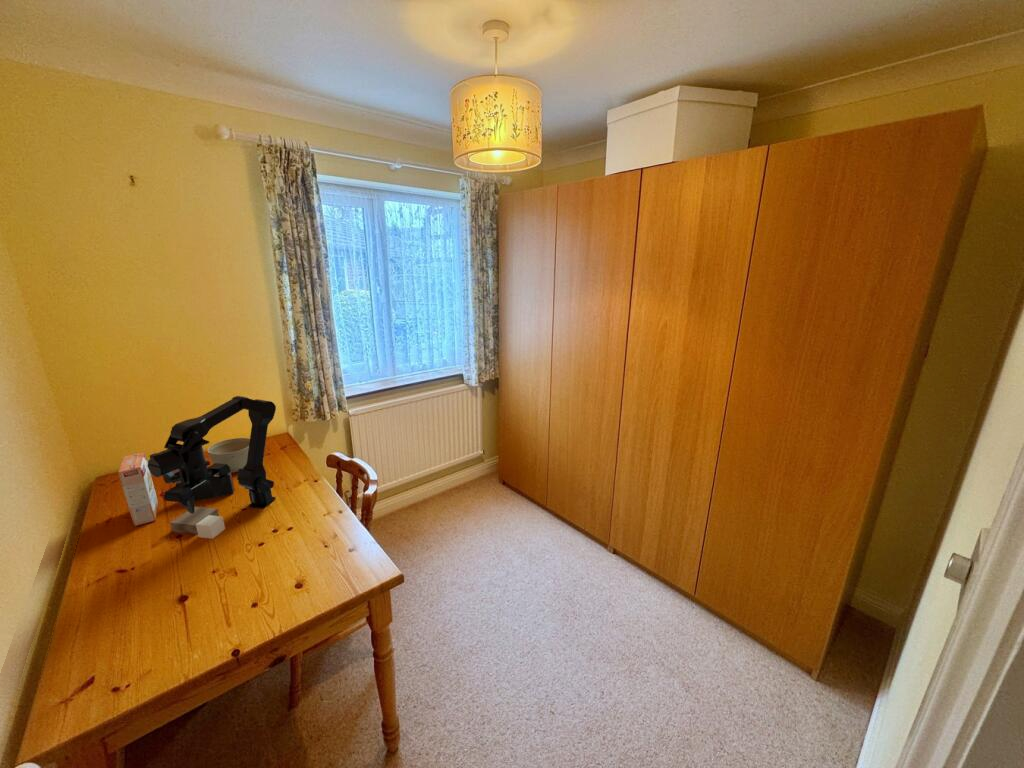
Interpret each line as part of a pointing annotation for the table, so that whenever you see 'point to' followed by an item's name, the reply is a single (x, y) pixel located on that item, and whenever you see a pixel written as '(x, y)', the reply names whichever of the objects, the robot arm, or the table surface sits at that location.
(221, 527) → the cream cube
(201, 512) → the grey block
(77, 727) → the table surface
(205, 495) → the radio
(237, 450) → the planter bowl
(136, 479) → the cereal box
